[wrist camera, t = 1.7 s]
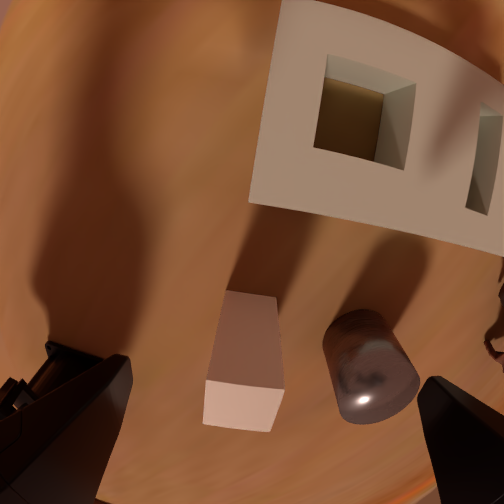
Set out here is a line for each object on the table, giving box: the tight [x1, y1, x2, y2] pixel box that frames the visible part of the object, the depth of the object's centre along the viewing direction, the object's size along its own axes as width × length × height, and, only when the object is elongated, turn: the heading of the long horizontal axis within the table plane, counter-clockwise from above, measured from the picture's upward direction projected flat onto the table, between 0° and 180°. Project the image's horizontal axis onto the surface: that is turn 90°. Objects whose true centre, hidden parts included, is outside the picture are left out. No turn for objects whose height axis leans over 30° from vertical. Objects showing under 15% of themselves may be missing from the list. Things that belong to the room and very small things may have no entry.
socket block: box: [248, 0, 504, 257], centre depth 13 cm, size 16×10×4 cm, turn 81°
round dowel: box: [323, 309, 420, 424], centre depth 17 cm, size 5×5×6 cm
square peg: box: [203, 290, 285, 432], centre depth 15 cm, size 3×3×8 cm
